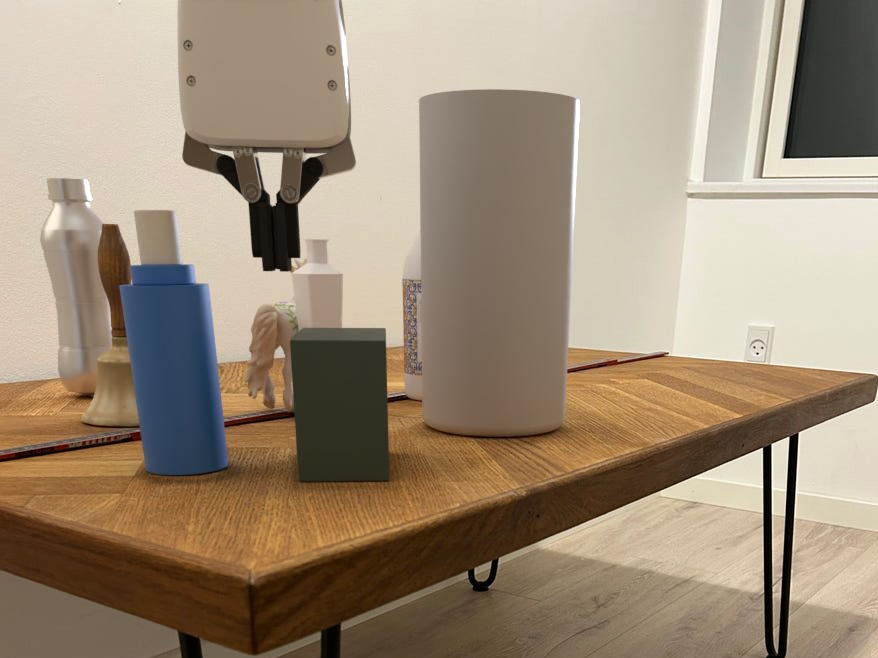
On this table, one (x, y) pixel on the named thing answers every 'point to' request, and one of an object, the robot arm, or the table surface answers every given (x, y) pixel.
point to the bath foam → (412, 321)
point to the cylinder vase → (496, 258)
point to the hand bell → (114, 340)
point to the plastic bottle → (76, 283)
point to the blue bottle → (172, 354)
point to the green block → (340, 404)
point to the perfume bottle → (318, 289)
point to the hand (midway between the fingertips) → (277, 270)
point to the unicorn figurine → (272, 348)
